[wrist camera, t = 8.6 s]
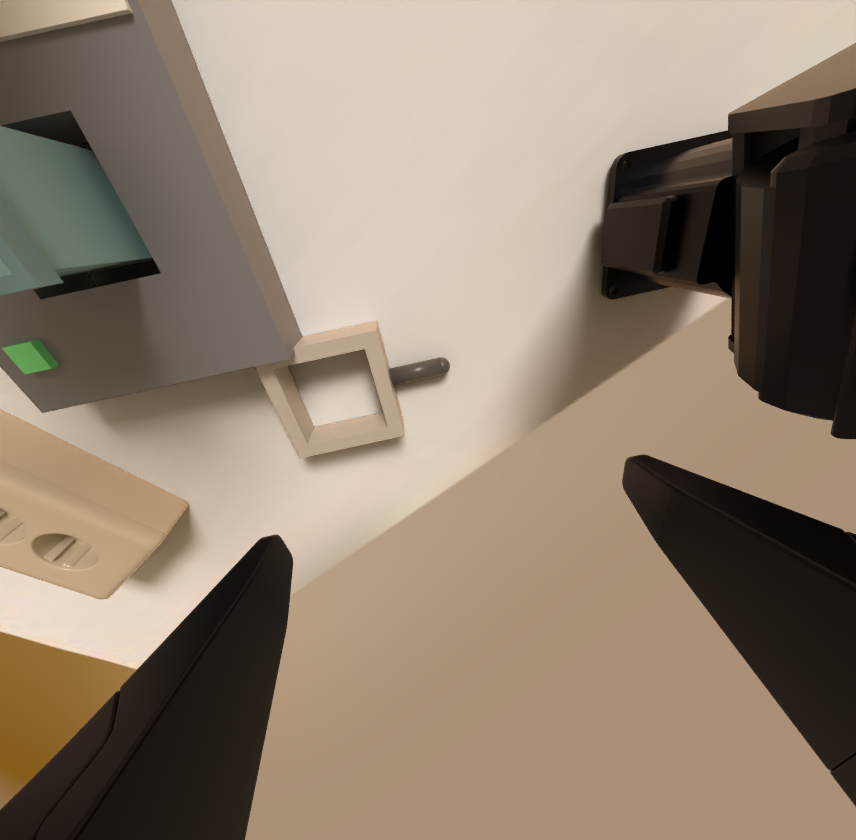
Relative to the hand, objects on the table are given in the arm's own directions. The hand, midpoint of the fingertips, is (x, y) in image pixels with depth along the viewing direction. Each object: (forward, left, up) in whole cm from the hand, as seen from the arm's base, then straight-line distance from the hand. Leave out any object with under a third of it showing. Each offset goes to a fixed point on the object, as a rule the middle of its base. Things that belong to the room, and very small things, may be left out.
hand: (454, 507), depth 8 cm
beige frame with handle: (+3, +1, -12) cm, 13 cm away
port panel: (+12, -9, -12) cm, 20 cm away
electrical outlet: (+25, +1, -13) cm, 29 cm away
